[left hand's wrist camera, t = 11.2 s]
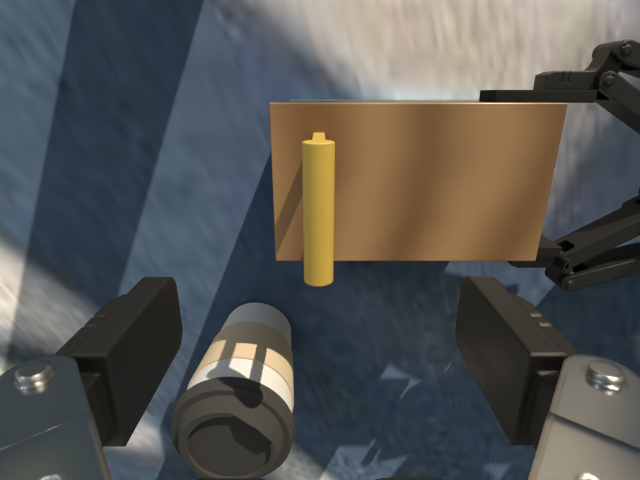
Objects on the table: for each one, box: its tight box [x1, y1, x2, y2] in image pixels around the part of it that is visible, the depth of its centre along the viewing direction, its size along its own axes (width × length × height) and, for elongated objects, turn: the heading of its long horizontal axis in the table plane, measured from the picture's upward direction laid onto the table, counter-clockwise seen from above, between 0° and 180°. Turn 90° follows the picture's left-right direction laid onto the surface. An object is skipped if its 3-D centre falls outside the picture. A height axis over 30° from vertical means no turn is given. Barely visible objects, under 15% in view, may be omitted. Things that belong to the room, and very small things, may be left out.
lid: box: [269, 103, 567, 287], centre depth 23 cm, size 18×10×8 cm, turn 90°
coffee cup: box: [170, 303, 295, 478], centre depth 34 cm, size 9×9×15 cm
